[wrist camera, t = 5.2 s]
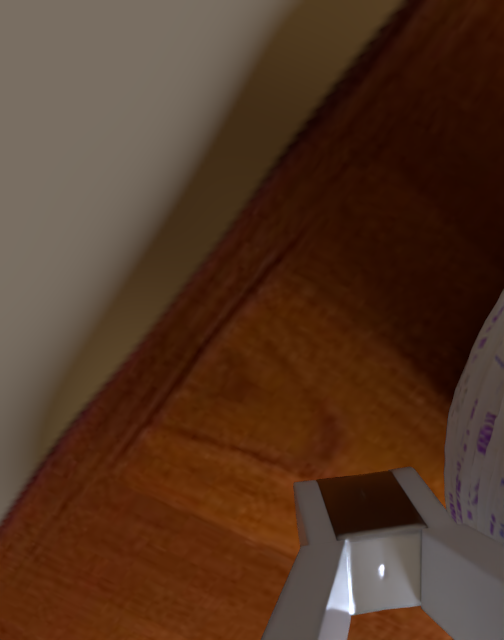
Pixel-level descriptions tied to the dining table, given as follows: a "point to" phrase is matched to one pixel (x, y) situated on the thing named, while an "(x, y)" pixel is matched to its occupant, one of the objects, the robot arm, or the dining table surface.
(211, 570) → the dining table surface
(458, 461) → the paper bowls
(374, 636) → the dining table surface
